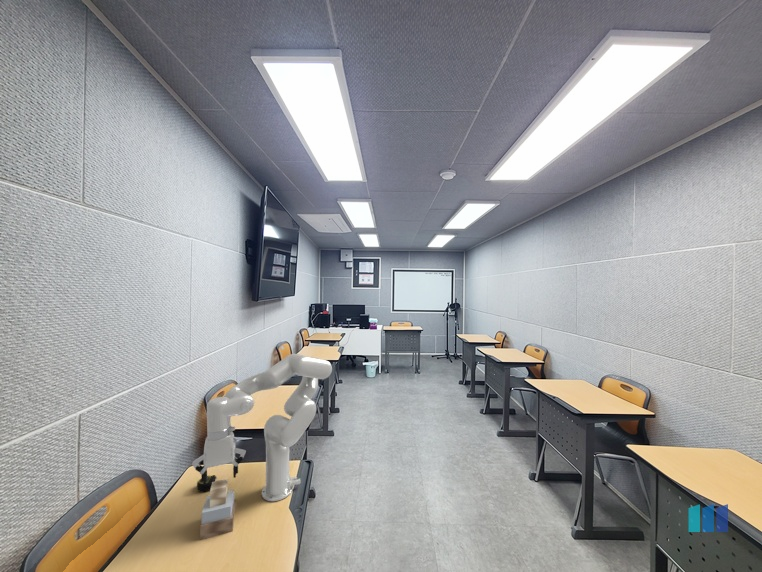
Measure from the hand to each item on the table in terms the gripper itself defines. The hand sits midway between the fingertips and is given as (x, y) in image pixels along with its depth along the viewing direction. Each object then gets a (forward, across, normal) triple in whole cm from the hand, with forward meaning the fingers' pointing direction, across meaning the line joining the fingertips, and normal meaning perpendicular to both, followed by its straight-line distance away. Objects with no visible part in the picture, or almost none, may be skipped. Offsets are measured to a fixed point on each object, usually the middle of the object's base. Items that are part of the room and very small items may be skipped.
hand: (220, 479), depth 107 cm
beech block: (+8, +1, +1) cm, 8 cm away
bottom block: (+17, +1, +1) cm, 17 cm away
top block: (+12, +1, 0) cm, 12 cm away
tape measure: (+17, +8, -25) cm, 31 cm away
